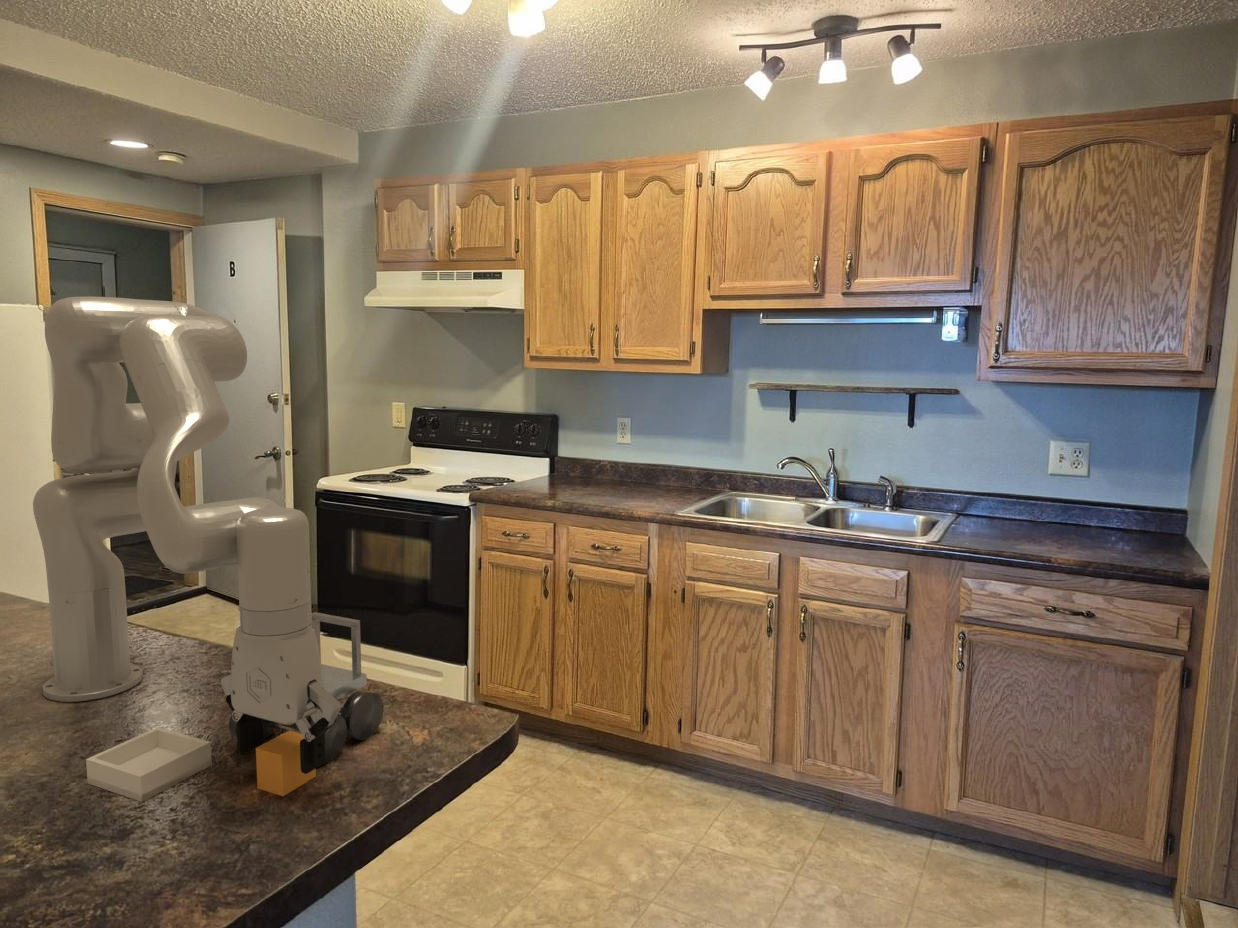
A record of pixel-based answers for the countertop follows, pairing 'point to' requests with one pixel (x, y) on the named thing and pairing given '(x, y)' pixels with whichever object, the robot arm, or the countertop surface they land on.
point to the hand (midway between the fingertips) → (281, 758)
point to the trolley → (339, 696)
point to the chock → (281, 764)
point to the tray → (148, 763)
